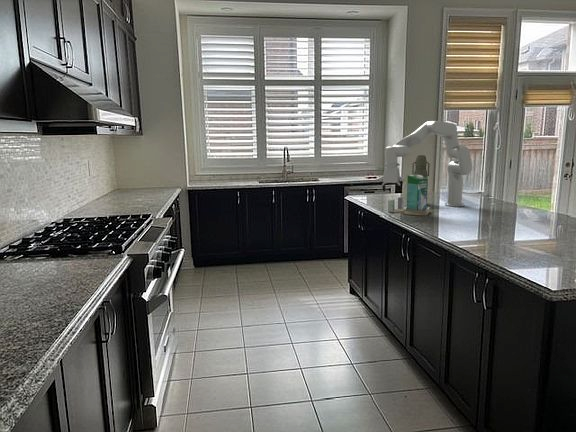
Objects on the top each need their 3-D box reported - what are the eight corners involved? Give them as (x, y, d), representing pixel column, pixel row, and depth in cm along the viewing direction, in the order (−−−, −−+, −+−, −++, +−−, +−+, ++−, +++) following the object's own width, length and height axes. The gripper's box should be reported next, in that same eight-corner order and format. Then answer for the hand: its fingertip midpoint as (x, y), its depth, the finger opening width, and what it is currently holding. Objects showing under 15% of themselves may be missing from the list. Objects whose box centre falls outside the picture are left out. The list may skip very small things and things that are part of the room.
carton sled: (391, 209, 300) (391, 197, 298) (429, 211, 289) (430, 199, 287) (386, 213, 287) (386, 201, 285) (426, 215, 276) (426, 203, 275)
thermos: (429, 204, 317) (431, 155, 310) (412, 204, 318) (413, 156, 312) (427, 202, 325) (428, 155, 319) (410, 202, 327) (412, 155, 320)
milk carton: (417, 215, 279) (418, 175, 275) (406, 213, 287) (407, 174, 282) (426, 213, 284) (428, 174, 279) (416, 211, 292) (417, 173, 287)
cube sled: (399, 207, 306) (399, 196, 304) (421, 208, 299) (421, 197, 298) (397, 209, 299) (397, 197, 298) (419, 210, 293) (419, 198, 291)
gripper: (406, 164, 287) (405, 190, 290) (379, 165, 294) (380, 190, 298) (403, 165, 280) (403, 192, 284) (376, 166, 288) (377, 192, 291)
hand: (391, 191), depth 291 cm, fingers open, 9 cm apart
